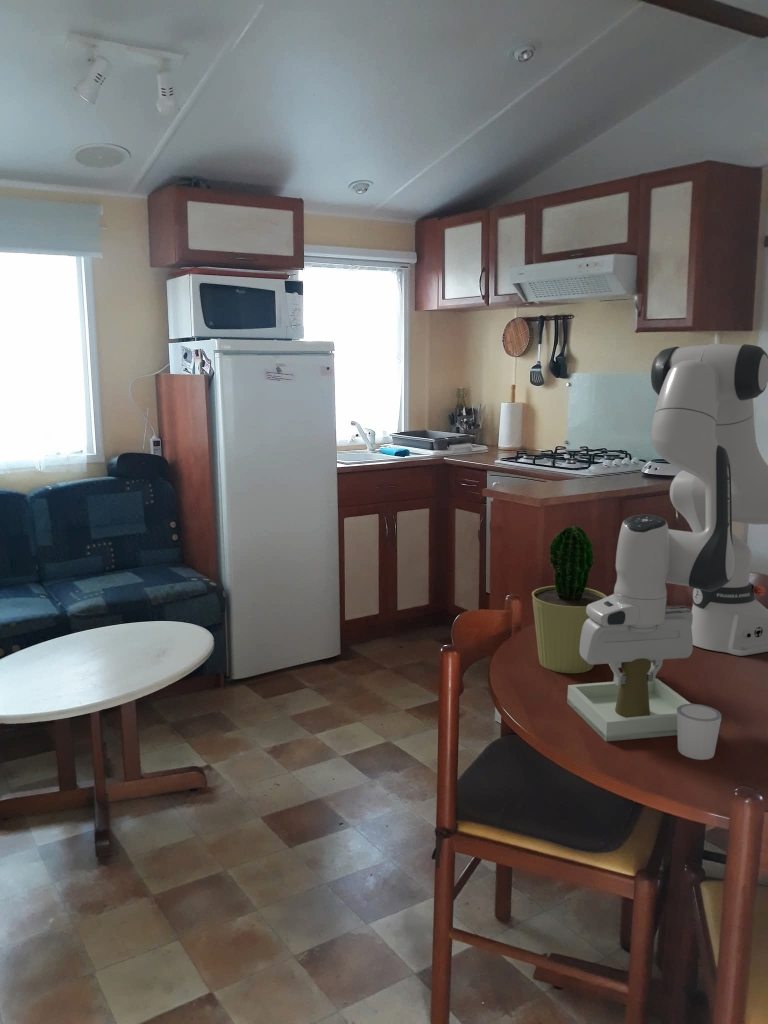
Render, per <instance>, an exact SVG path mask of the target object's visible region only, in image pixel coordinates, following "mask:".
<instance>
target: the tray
mask: <svg viewBox="0 0 768 1024" xmlns="http://www.w3.org/2000/svg"><path fill="white" fill-rule="evenodd" d="M619 688H620V686H617V685H616V684H615V683H614V681H606V682H605V681H603V682H592V683H589V682H588V683H579V684H568V685H567V697H566V698H567V702H566V703H567V704H568V706H570V707H571V708H572V709H573V710H574V712H576V713H577V714H578V715H579V716H580V718H582V720H584V721H585V722H586V724H588V725H589V727H590V728H592V729H593V730H594V731H595V732H596V734H597V735H598V736H600V738H602V739H603V740H604V742H606V743H607V742H615V741H625V740H627V741H628V740H637V739H649V738H659V737H670V736H677V708H678V707H679V706H680V705H684V704H692V703H691V702H690V701H688V700H687V699H685V698H684V697H683V696H682V695H680V694H679V693H678V692H676V691H675V690H673V689H672V688H671V687H669V686H668V685H666V684H665V683H664V682H662V681H661V680H660V679H658V678H657V677H655V683H648V694H649V707H650V716H640V717H629V718H625V717H622V716H620V715H618V714H617V713H616V712H615V708H616V703H617V698H618V693H619Z"/></svg>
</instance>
